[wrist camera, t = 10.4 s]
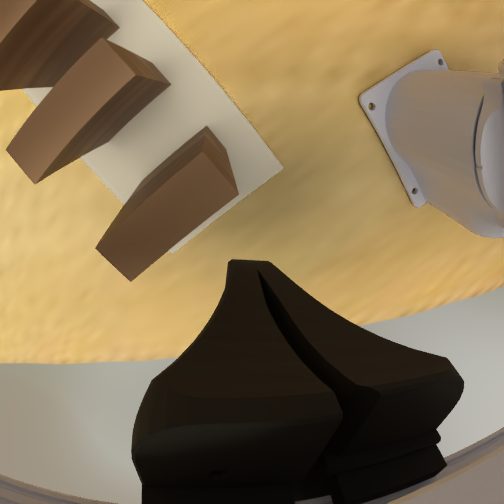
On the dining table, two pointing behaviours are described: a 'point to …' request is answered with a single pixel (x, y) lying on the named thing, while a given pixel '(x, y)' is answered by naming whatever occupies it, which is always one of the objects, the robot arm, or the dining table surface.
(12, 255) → the dining table surface
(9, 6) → the brown wooden block
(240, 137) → the mat
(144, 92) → the brown wooden block
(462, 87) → the robot arm
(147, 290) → the dining table surface
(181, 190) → the tile
